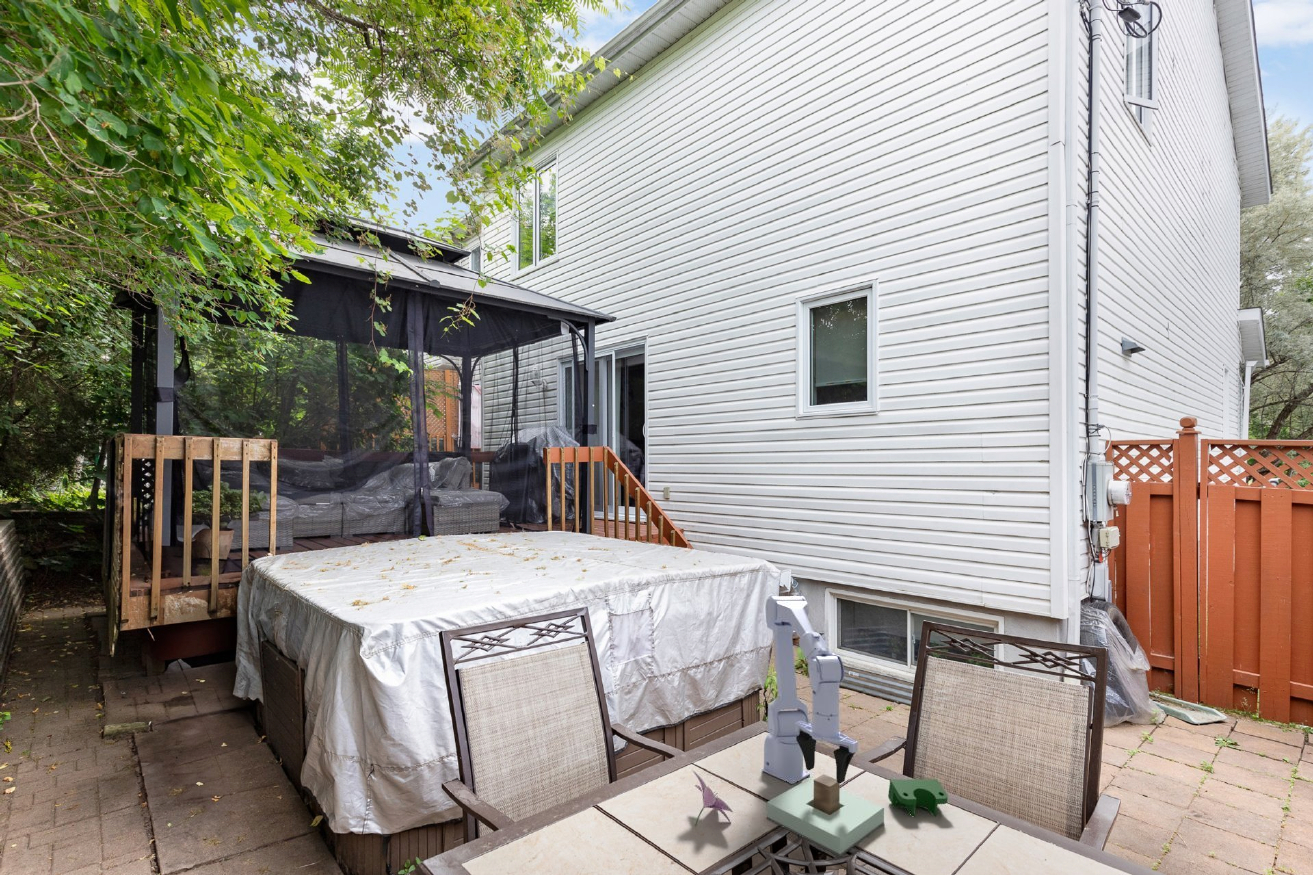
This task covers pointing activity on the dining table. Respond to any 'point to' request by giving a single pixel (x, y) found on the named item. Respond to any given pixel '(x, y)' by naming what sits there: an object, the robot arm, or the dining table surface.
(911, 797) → the clamp
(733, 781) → the dining table surface
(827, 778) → the post
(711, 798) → the lily
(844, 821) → the well block
